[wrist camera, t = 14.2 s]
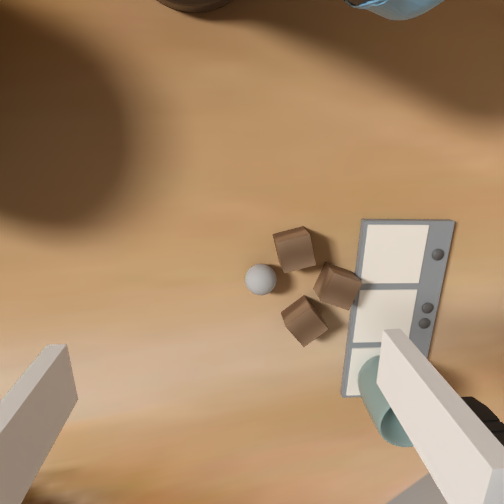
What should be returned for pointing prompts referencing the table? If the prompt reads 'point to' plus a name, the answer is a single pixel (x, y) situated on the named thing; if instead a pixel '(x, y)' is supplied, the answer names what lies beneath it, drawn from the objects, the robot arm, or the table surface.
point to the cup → (380, 405)
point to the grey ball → (260, 279)
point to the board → (395, 287)
